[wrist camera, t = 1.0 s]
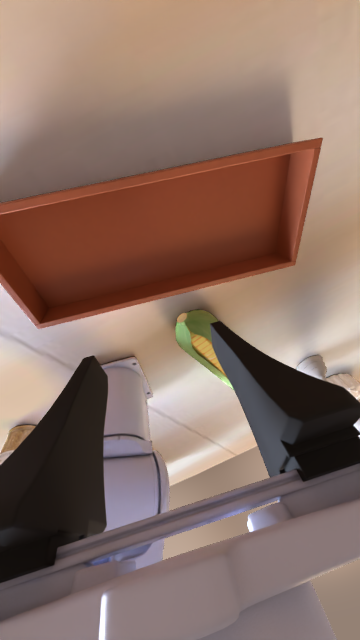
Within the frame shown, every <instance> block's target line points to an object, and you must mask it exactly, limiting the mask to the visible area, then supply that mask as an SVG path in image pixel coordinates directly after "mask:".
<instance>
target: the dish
mask: <svg viewBox="0 0 360 640" xmlns="http://www.w3.org/2000/svg"><path fill="white" fill-rule="evenodd" d="M322 140H323V138H316V139H311V140H305V141H299V142H293V143H288V144H283V145H279V146H274V147H269V148H264V149H259V150H254V151H249V152H245V153H240V154H235V155H230V156H225V157H220V158H216V159H211V160H206V161H201V162H196V163H191V164H186V165H182V166H177V167H172V168H167V169H162V170H157V171H152V172H148V173H143V174H138V175H133V176H128V177H123V178H119V179H114V180H109V181H104V182H99V183H94V184H89V185H85V186H80V187H75V188H70V189H65V190H60V191H55V192H51V193H46V194H41V195H36V196H31V197H26V198H21V199H17V200H12V201H7V202H2V203H0V283H1V285H2V286H3V287H4V288H5V290H6V291H7V292H8V293H9V294H10V296H11V297H12V298H13V299H14V301H15V302H16V303H17V304H18V305H19V307H20V308H21V309H22V310H23V312H24V313H25V314H26V315H27V316H28V318H29V319H30V320H31V321H32V322H33V324H34V325H35V326H36V327H37V329H41V328H45V327H49V326H53V325H57V324H61V323H65V322H69V321H73V320H77V319H81V318H85V317H89V316H93V315H97V314H101V313H105V312H109V311H113V310H117V309H121V308H125V307H129V306H133V305H137V304H141V303H145V302H149V301H153V300H157V299H161V298H165V297H169V296H173V295H177V294H181V293H185V292H189V291H193V290H197V289H201V288H205V287H209V286H213V285H217V284H221V283H225V282H229V281H233V280H237V279H241V278H245V277H249V276H253V275H257V274H261V273H265V272H269V271H273V270H277V269H281V268H285V267H289V266H293V265H295V263H296V258H297V254H298V249H299V245H300V240H301V236H302V231H303V226H304V222H305V217H306V213H307V208H308V204H309V199H310V195H311V190H312V186H313V181H314V176H315V172H316V167H317V163H318V158H319V154H320V149H321V148H320V147H321V144H322Z"/></svg>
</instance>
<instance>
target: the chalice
mask: <svg viewBox="0 0 360 640" xmlns="http://www.w3.org/2000/svg"><path fill="white" fill-rule="evenodd" d="M296 370H298V371H300V372H303V373H305V374H308V375H310V376H313V377H315V378H318V379H321V380H324V381H327V379H326V378H325V374H326V372H327V368H326V366H325V363H324V362H323V359H322V357H321V356H319V355H315V356H311V357H309V358H307V359H305V360H304V361H302V362H301V363H300V364H299V365H298V366H297V368H296ZM327 382H328V381H327ZM354 426H355V427H356V428H357V430H358V431H359V432H360V418H359V420H358V421H357V422H356V423H355V424H354ZM359 437H360V435H359Z"/></svg>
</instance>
